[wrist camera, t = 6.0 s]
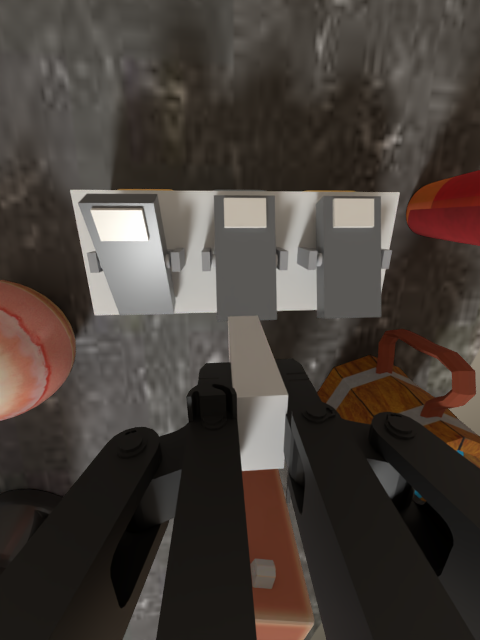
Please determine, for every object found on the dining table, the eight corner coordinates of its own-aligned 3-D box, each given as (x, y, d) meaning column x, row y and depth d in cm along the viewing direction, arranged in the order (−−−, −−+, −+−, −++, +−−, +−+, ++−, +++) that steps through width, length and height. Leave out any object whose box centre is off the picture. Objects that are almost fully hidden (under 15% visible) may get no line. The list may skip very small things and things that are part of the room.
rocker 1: (121, 302, 23) (116, 317, 22) (83, 193, 17) (72, 204, 16) (178, 301, 24) (176, 316, 22) (160, 193, 18) (156, 205, 16)
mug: (392, 433, 42) (480, 540, 28) (307, 434, 41) (354, 546, 27) (430, 313, 35) (569, 374, 21) (329, 310, 34) (407, 373, 20)
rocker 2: (214, 320, 21) (214, 321, 19) (211, 203, 21) (210, 193, 19) (275, 318, 22) (280, 319, 20) (273, 204, 21) (278, 193, 19)
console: (124, 292, 31) (76, 328, 21) (109, 194, 28) (43, 179, 17) (342, 288, 33) (399, 320, 23) (354, 196, 30) (429, 183, 19)
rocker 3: (314, 317, 22) (323, 318, 20) (313, 204, 22) (322, 194, 20) (372, 316, 22) (386, 317, 20) (371, 204, 22) (385, 194, 20)
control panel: (202, 479, 42) (227, 401, 38) (245, 486, 44) (274, 410, 39) (188, 713, 22) (238, 607, 18) (267, 713, 24) (335, 614, 19)
